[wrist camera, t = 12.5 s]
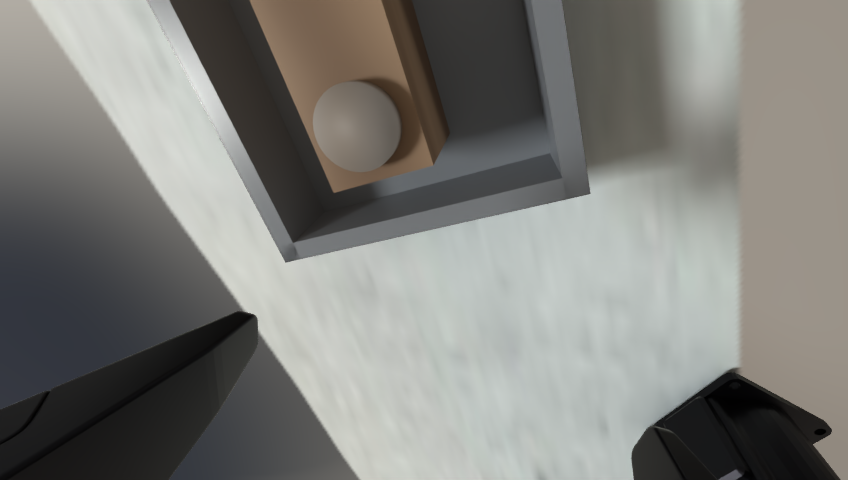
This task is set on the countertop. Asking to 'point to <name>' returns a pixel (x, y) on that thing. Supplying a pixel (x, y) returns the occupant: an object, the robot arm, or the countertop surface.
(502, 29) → the bin
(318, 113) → the strut
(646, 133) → the countertop surface
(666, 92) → the countertop surface
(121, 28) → the countertop surface
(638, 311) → the countertop surface
